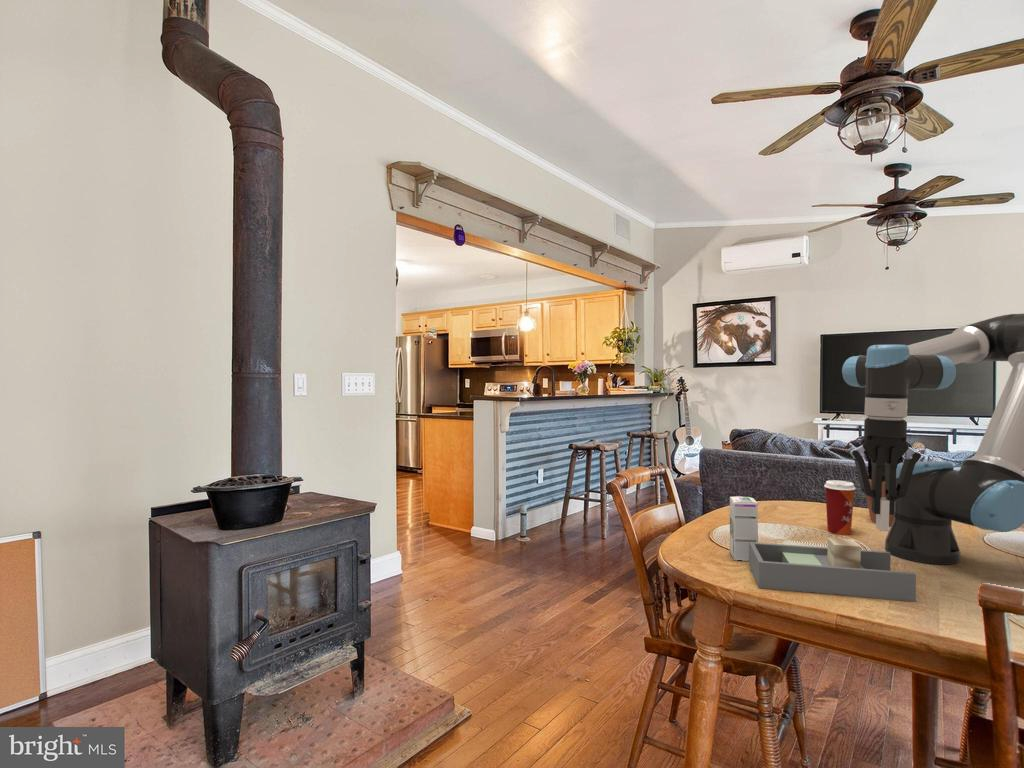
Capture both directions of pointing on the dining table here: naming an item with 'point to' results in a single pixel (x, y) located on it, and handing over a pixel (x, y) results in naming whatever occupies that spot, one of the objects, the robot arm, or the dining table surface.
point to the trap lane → (828, 572)
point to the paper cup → (839, 506)
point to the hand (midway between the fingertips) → (882, 529)
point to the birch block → (844, 553)
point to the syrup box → (743, 526)
